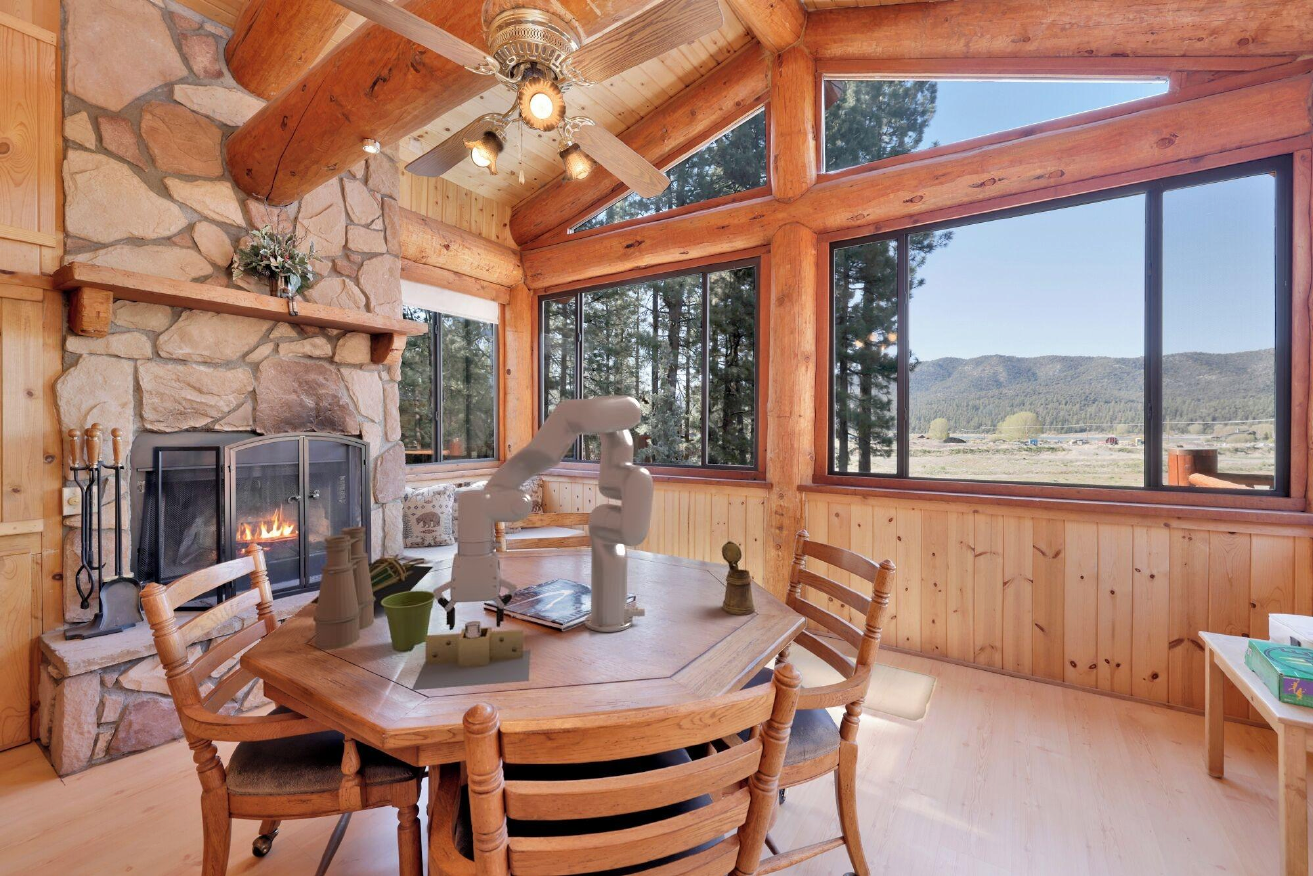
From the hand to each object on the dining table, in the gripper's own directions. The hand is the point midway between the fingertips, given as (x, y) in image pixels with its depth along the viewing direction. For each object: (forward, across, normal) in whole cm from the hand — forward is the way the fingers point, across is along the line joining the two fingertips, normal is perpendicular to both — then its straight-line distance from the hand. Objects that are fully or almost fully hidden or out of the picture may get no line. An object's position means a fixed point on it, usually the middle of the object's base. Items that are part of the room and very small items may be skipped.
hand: (475, 626), depth 120 cm
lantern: (+9, +32, -52) cm, 62 cm away
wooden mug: (+9, -70, -27) cm, 75 cm away
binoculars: (+9, +34, -25) cm, 43 cm away
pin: (+7, 0, 0) cm, 8 cm away
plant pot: (+9, +16, -14) cm, 23 cm away
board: (+9, 0, +4) cm, 10 cm away
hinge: (+7, 0, 0) cm, 7 cm away
